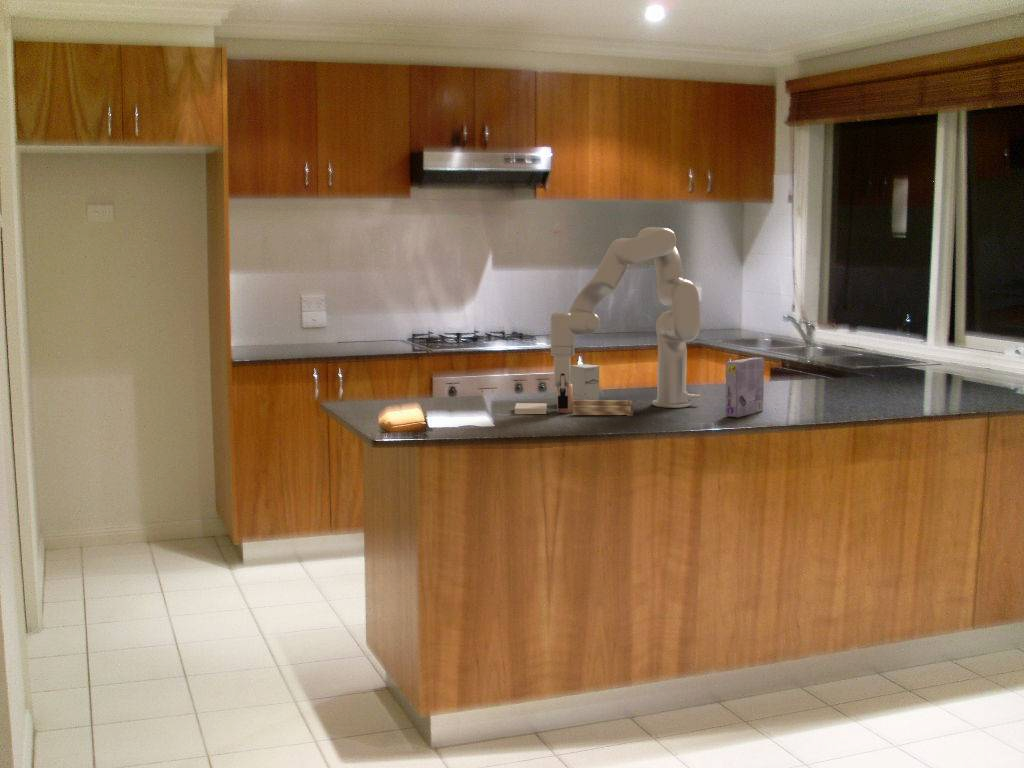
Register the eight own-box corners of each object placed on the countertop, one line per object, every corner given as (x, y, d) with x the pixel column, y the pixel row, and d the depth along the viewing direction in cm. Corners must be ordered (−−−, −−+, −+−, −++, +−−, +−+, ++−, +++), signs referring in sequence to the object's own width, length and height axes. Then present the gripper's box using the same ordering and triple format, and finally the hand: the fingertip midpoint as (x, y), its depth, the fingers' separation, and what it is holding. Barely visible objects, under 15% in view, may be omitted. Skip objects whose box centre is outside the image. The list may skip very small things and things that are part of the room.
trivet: (546, 409, 358) (546, 403, 358) (546, 414, 349) (546, 408, 348) (516, 409, 359) (516, 403, 359) (514, 414, 349) (514, 408, 349)
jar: (571, 410, 356) (571, 380, 354) (573, 412, 351) (573, 382, 350) (556, 410, 356) (556, 380, 354) (558, 413, 351) (558, 383, 349)
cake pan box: (751, 408, 359) (753, 355, 357) (765, 410, 356) (767, 356, 354) (723, 417, 345) (724, 361, 342) (737, 419, 342) (739, 362, 339)
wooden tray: (630, 409, 358) (631, 400, 357) (633, 416, 346) (633, 406, 346) (572, 409, 359) (572, 400, 358) (572, 415, 347) (573, 406, 347)
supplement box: (583, 404, 368) (584, 367, 366) (568, 402, 373) (569, 365, 371) (599, 402, 372) (600, 365, 370) (584, 399, 378) (584, 363, 376)
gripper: (551, 347, 359) (551, 402, 362) (550, 354, 342) (550, 411, 345) (574, 347, 359) (574, 402, 361) (574, 354, 342) (574, 411, 345)
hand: (562, 406), depth 353 cm, fingers closed on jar, 5 cm apart
